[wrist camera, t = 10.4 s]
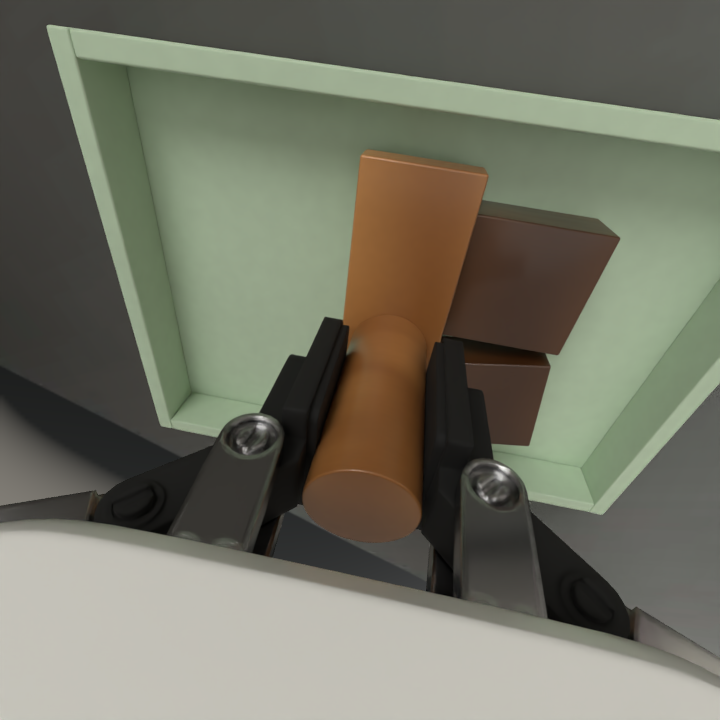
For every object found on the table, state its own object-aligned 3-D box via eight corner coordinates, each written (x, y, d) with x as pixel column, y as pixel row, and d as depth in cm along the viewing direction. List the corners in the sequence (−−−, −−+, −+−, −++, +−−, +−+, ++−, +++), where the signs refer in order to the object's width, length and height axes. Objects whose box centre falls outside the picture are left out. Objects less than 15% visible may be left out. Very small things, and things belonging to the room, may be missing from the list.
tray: (190, 387, 20) (160, 426, 18) (119, 34, 12) (43, 23, 9) (583, 464, 19) (602, 515, 17) (823, 134, 10) (928, 150, 8)
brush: (340, 408, 18) (284, 603, 11) (372, 141, 11) (284, 230, 5) (408, 421, 18) (392, 628, 11) (480, 158, 11) (549, 277, 5)
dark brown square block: (438, 309, 14) (438, 334, 13) (469, 197, 12) (473, 213, 11) (546, 328, 14) (558, 356, 13) (599, 218, 12) (622, 237, 10)
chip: (428, 410, 17) (427, 440, 16) (431, 335, 15) (431, 362, 14) (521, 415, 17) (529, 447, 15) (539, 337, 14) (551, 366, 13)
